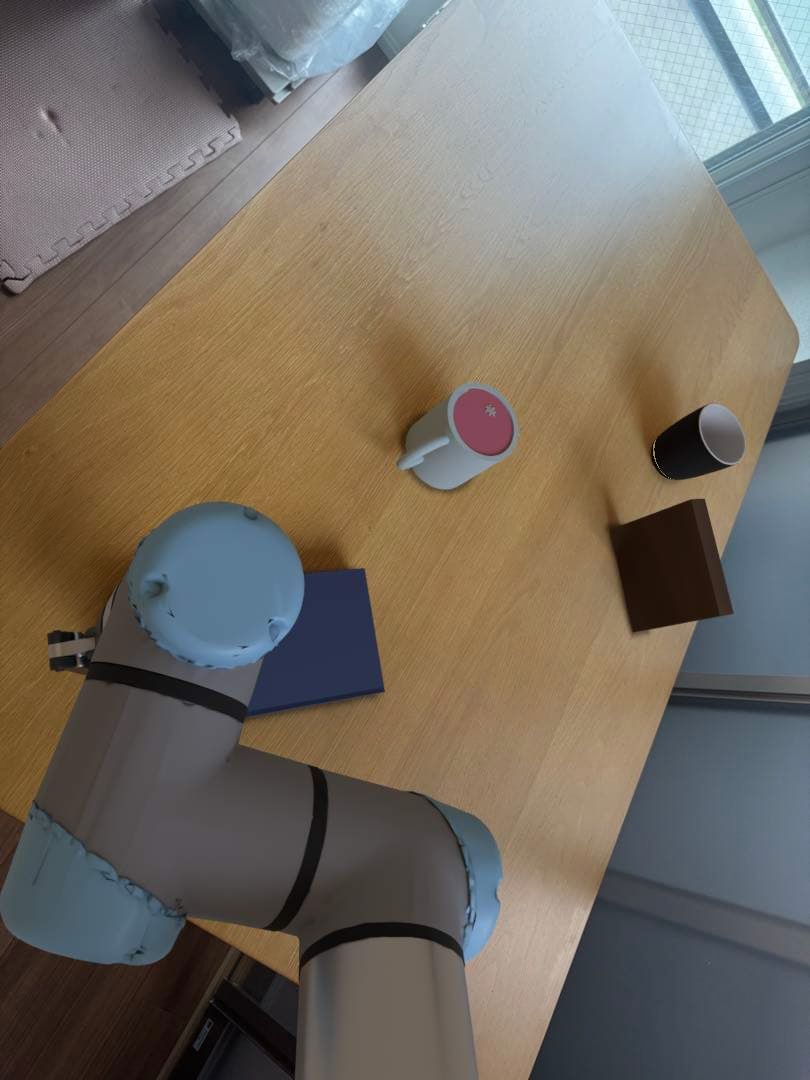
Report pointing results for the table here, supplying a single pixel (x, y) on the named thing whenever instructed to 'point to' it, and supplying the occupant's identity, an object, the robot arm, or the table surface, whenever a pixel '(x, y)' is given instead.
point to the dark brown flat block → (671, 567)
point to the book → (323, 648)
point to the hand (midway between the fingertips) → (120, 662)
